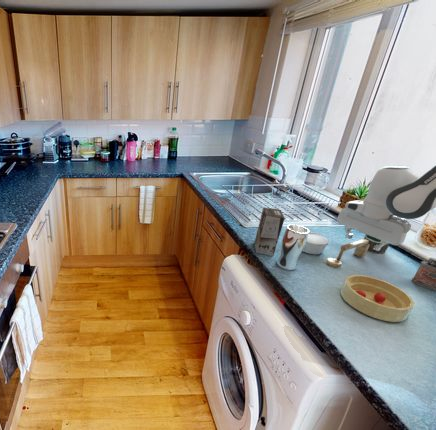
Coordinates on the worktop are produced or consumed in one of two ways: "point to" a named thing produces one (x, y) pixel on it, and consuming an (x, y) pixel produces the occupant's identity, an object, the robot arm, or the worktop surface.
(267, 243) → the coffee box
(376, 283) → the bowl
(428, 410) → the worktop surface
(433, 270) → the red printed box
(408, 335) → the worktop surface
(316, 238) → the ramekin
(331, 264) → the brass bent handle
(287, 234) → the beer glass
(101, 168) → the worktop surface
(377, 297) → the tomato
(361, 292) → the tomato
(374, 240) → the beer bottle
